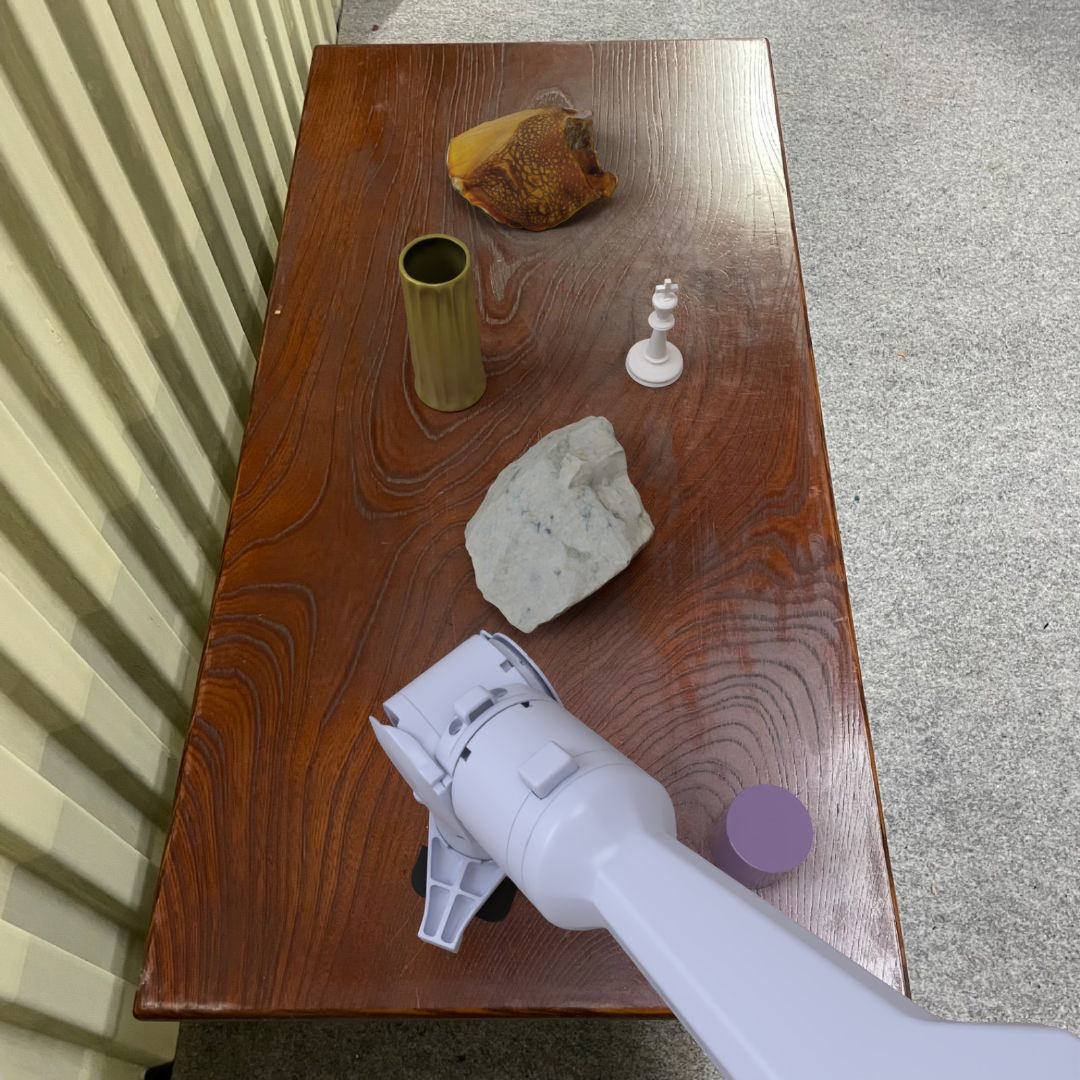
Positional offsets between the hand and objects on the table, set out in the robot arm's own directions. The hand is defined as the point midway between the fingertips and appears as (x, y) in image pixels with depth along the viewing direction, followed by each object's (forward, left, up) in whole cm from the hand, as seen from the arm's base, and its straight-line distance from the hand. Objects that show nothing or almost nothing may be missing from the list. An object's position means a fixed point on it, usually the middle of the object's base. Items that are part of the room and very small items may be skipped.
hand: (494, 838), depth 58 cm
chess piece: (+42, +5, -4) cm, 43 cm away
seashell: (+59, +24, -4) cm, 64 cm away
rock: (+23, +6, -4) cm, 24 cm away
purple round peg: (+7, -15, -4) cm, 17 cm away
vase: (+33, +20, -4) cm, 39 cm away
